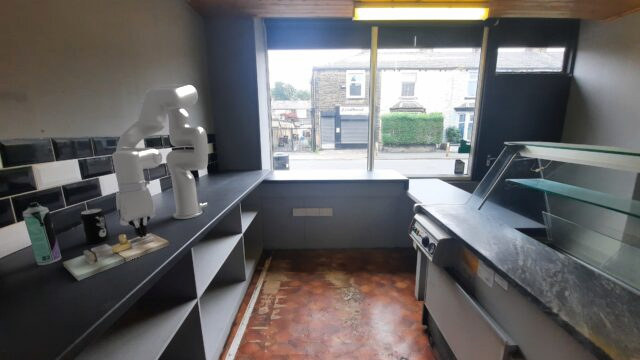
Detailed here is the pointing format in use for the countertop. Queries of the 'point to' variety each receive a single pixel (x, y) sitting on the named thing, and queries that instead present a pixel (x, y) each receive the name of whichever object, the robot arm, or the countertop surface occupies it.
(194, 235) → the countertop surface
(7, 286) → the countertop surface
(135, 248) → the latch board
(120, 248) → the bolt
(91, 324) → the countertop surface
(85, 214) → the beverage can
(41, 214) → the spray can
